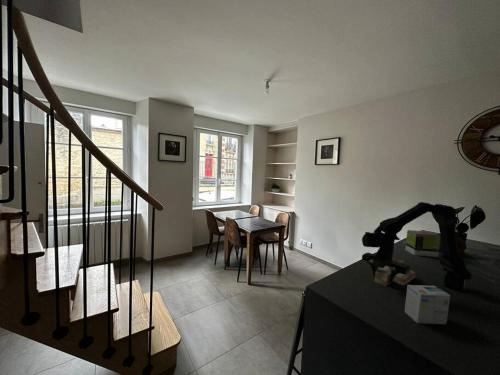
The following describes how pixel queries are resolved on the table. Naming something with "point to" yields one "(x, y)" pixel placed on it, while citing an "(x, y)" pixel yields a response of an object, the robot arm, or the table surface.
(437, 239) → the tea box
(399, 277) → the plinth
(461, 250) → the glass bottle
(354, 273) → the table surface
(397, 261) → the walnut block
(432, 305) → the light bulb box
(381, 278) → the oak block
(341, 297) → the table surface
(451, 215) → the robot arm
